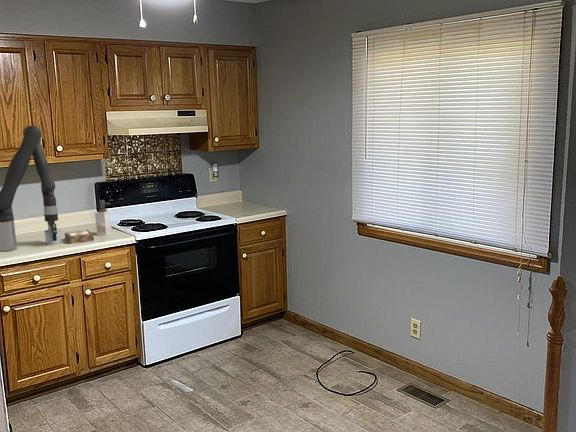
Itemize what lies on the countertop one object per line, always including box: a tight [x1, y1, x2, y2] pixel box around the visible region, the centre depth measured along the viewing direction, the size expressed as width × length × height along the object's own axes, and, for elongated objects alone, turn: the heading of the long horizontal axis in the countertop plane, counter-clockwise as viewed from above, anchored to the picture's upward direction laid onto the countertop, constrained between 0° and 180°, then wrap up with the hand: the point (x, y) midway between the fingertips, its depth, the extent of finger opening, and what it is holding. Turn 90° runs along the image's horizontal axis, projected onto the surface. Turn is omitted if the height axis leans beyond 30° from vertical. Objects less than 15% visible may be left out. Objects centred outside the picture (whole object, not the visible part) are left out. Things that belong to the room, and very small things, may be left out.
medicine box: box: [44, 227, 62, 246], centre depth 349 cm, size 8×4×9 cm, turn 141°
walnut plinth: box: [64, 229, 95, 245], centre depth 357 cm, size 14×14×4 cm
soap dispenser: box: [95, 199, 113, 236], centre depth 369 cm, size 6×9×22 cm
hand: (53, 239), depth 349 cm, fingers open, 8 cm apart
